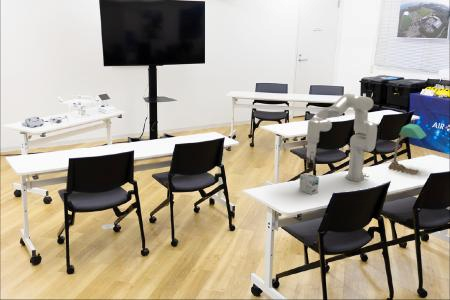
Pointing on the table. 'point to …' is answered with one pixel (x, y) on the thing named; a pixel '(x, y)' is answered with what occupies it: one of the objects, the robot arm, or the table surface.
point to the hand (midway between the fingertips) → (310, 166)
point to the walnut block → (307, 164)
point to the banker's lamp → (406, 131)
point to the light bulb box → (309, 183)
